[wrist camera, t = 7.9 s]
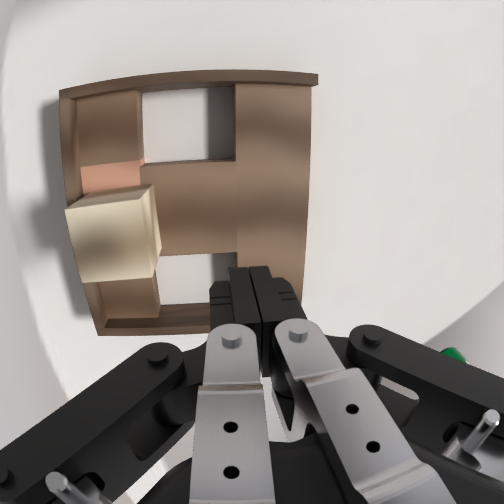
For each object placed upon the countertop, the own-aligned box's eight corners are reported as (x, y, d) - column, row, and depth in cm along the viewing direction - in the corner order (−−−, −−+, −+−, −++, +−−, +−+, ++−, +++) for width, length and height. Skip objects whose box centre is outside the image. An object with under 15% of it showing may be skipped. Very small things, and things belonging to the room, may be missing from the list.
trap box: (77, 93, 20) (59, 90, 16) (303, 80, 22) (318, 74, 19) (107, 313, 27) (98, 335, 24) (294, 303, 30) (304, 324, 27)
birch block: (90, 192, 21) (64, 209, 17) (153, 183, 22) (139, 199, 17) (102, 253, 23) (81, 282, 19) (161, 247, 24) (152, 277, 19)
